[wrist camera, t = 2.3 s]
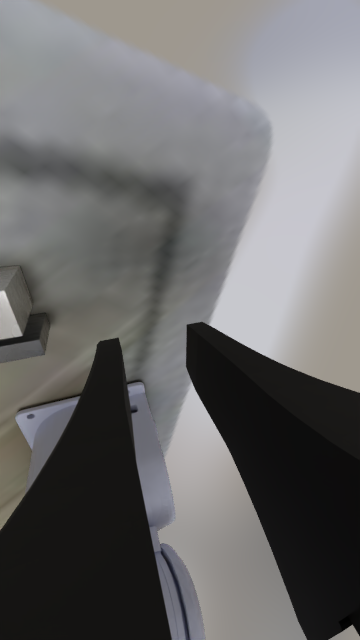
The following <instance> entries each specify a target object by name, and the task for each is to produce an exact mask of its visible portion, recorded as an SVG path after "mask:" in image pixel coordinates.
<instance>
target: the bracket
mask: <svg viewBox="0 0 360 640" xmlns="http://www.w3.org/2000/svg"><path fill="white" fill-rule="evenodd" d="M49 330H50V325H49V321H48V318H47V315H46V313H42V314H35V315H29V318H28V321H27V324H26V327H25V330H24V333H23V336H19V337H13V338H7V339H1V340H0V363H4V362H9V361H14V360H20V359H25V358H30V357H35V356H40V355H45V351H46V346H47V340H48V335H49Z"/></svg>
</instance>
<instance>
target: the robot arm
mask: <svg viewBox="0 0 360 640" xmlns="http://www.w3.org/2000/svg"><path fill="white" fill-rule="evenodd" d="M186 368H187V370H188V373H189V375H190V378H191V380H192V383H193V385H194V387H195V390H196V392H197V394H198V395H199V397H200V399H201V401H202V403H203V404H204V406H205V408H206V410H207V411H208V413H209V415H210V417H211V419H212V420H213V422H214V424H215V425H216V427H217V429H218V431H219V433H220V434H221V436H222V438H223V440H224V441H225V443H226V445H227V447H228V449H229V451H230V453H231V455H232V457H233V460H234V462H235V464H236V466H237V468H238V471H239V473H240V475H241V477H242V480H243V482H244V484H245V486H246V489H247V491H248V494H249V496H250V498H251V500H252V503H253V505H254V508H255V510H256V512H257V515H258V517H259V520H260V522H261V525H262V527H263V530H264V532H265V535H266V537H267V540H268V542H269V544H270V547H271V549H272V552H273V555H274V557H275V560H276V562H277V565H278V568H279V570H280V573H281V576H282V578H283V581H284V584H285V586H286V589H287V592H288V594H289V597H290V599H291V602H292V605H293V608H294V611H295V613H296V616H297V619H298V622H299V624H300V626H301V628H302V630H303V632H304V634H305V636H306V638H307V640H328V639H330V638H332V637H333V636H335V635H337V634H339V633H340V632H342V631H343V630H345V629H347V628H348V627H349V626H351V625H352V624H353V626H354V627H355V629H356V631H357V632H358V634H359V636H360V393H358V392H355V391H352V390H349V389H346V388H343V387H340V386H337V385H334V384H331V383H328V382H325V381H322V380H320V379H317V378H314V377H312V376H309V375H307V374H304V373H302V372H299V371H297V370H294V369H292V368H290V367H287V366H285V365H283V364H281V363H278V362H276V361H274V360H272V359H270V358H268V357H266V356H264V355H262V354H260V353H258V352H256V351H254V350H252V349H250V348H248V347H247V346H245V345H243V344H241V343H239V342H237V341H236V340H234V339H232V338H230V337H228V336H226V335H225V334H223V333H222V332H220V331H218V330H216V329H215V328H213V327H211V326H209V325H207V324H205V323H203V322H199V323H193V324H188V325H187V347H186ZM29 414H33V415H29ZM15 420H16V422H17V424H18V425H19V427H20V429H21V431H22V433H23V435H24V436H25V438H26V440H27V442H28V444H29V446H30V448H31V449H32V455H31V461H30V467H29V473H28V479H27V485H26V491H25V496H24V497H23V499H22V500H21V502H20V503H19V505H18V506H17V508H16V509H15V511H14V512H13V513H12V515H11V516H10V518H9V519H8V520H7V522H6V523H5V525H4V526H3V528H2V529H1V530H0V640H206V639H205V631H204V624H203V619H202V614H201V609H200V605H199V601H198V597H197V593H196V590H195V587H194V584H193V581H192V579H191V576H190V574H189V572H188V570H187V568H186V566H185V564H184V562H183V561H182V560H181V558H180V557H179V556H178V555H177V553H176V552H175V550H174V549H173V548H172V547H171V546H169V545H168V544H164V543H162V544H160V543H159V538H158V534H157V531H159V530H160V529H162V528H164V527H166V526H167V525H169V524H171V523H172V522H174V521H175V509H174V502H173V496H172V490H171V486H170V481H169V477H168V473H167V468H166V464H165V460H164V456H163V453H162V449H161V446H160V442H159V438H158V432H157V428H156V424H155V421H154V420H153V418H152V415H151V412H150V408H149V405H148V401H147V398H146V394H145V388H144V384H143V383H142V382H136V383H132V384H128V385H127V381H126V374H125V368H124V362H123V355H122V349H121V345H120V342H119V338H114V339H109V340H104V341H100V342H99V343H98V344H97V349H96V354H95V358H94V361H93V365H92V368H91V371H90V373H89V376H88V379H87V381H86V384H85V387H84V389H83V392H82V394H81V396H78V397H74V398H70V399H66V400H62V401H58V402H54V403H49V404H45V405H41V406H37V407H33V408H29V409H25V410H21V411H19V412H17V414H16V417H15Z"/></svg>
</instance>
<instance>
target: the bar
mask: <svg viewBox="0 0 360 640" xmlns="http://www.w3.org/2000/svg"><path fill="white" fill-rule="evenodd" d="M32 306H33V302H32V299H31V296H30V293H29V291H28V288H27V285H26V282H25V279H24V276H23V274H22V271H21V268H20V266H11V267H1V268H0V340H1V339H7V338H13V337H19V336H23V333H24V330H25V327H26V324H27V321H28V318H29V315H30V312H31V309H32Z"/></svg>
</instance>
